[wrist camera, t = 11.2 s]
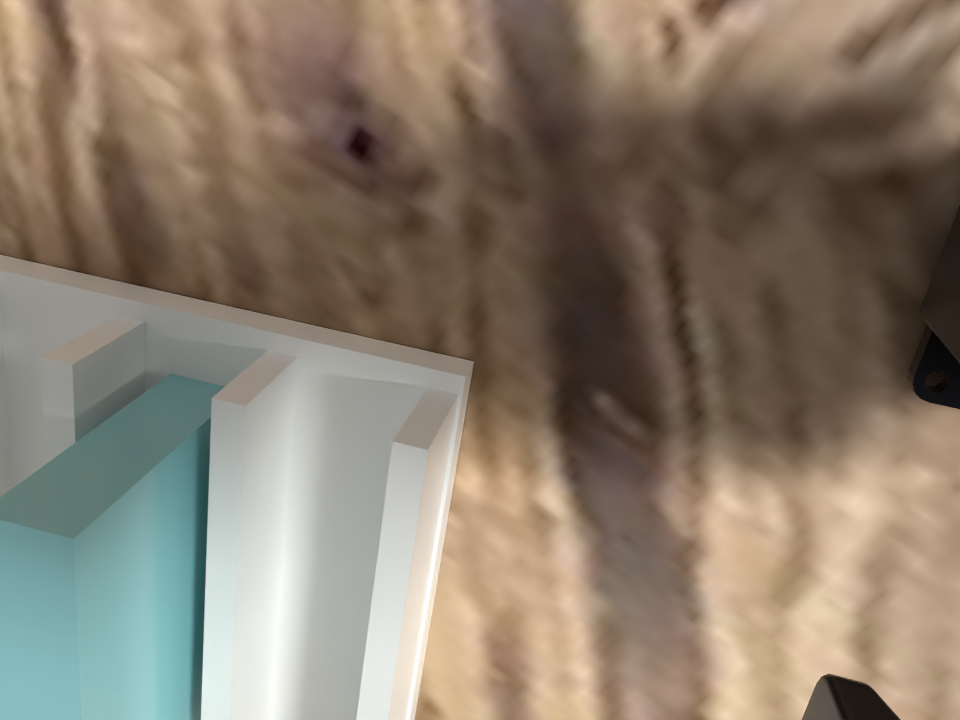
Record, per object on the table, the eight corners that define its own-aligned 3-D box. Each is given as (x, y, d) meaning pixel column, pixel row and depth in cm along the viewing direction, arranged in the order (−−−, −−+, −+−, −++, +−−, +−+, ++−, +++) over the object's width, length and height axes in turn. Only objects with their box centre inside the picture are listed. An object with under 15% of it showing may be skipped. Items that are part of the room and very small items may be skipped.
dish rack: (474, 361, 22) (435, 431, 18) (408, 758, 28) (368, 871, 24) (-7, 253, 24) (-129, 297, 20) (22, 647, 29) (-70, 738, 26)
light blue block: (241, 390, 23) (73, 539, 16) (228, 681, 27) (89, 892, 20) (170, 373, 23) (-23, 513, 16) (168, 664, 27) (12, 867, 20)
